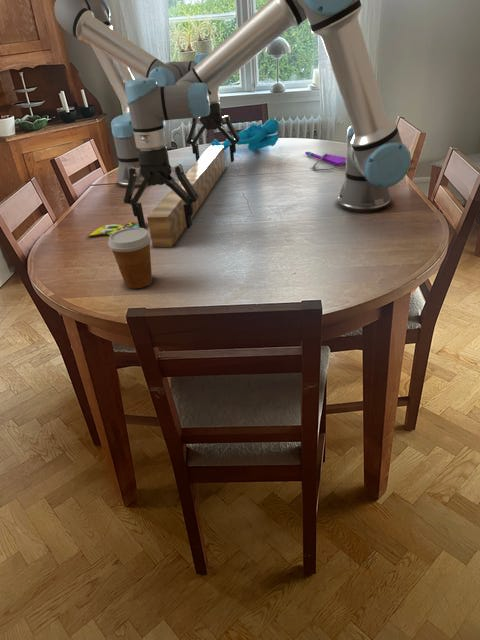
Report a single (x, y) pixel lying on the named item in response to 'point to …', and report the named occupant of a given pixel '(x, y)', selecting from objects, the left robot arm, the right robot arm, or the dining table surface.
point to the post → (170, 211)
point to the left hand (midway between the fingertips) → (215, 161)
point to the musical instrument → (328, 159)
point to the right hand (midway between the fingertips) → (165, 226)
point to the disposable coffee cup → (132, 255)
